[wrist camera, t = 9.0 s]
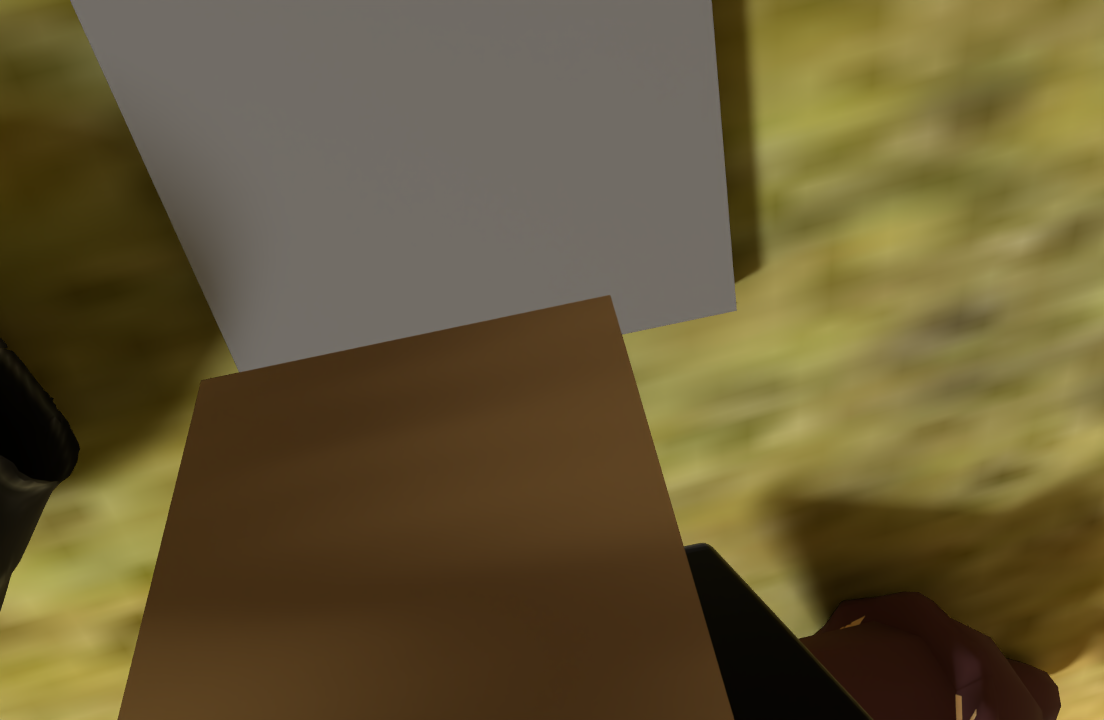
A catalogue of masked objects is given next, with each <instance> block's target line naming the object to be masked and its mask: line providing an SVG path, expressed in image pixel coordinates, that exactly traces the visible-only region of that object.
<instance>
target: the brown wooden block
mask: <svg viewBox="0 0 1104 720" xmlns="http://www.w3.org/2000/svg"><path fill="white" fill-rule="evenodd" d="M118 720H734V717H733V714H732V710H731V707H730V703H729V700H728V697H727V693H726V690H725V686H724V683H723V679H722V676H721V673H720V669H719V666H718V662H717V659H716V655H715V652H714V649H713V645H712V642H711V638H710V635H709V631H708V628H707V625H706V621H705V618H704V614H703V611H702V607H701V604H700V601H699V597H698V594H697V590H696V587H695V583H694V580H693V577H692V573H691V570H690V566H689V563H688V559H687V556H686V553H685V549H684V546H683V542H682V539H681V535H680V532H679V529H678V525H677V522H676V518H675V515H674V511H673V508H672V505H671V501H670V498H669V494H668V491H667V487H666V484H665V481H664V477H663V474H662V470H661V467H660V463H659V460H658V457H657V453H656V450H655V446H654V443H653V440H652V436H651V433H650V429H649V426H648V422H647V419H646V416H645V412H644V409H643V405H642V402H641V398H640V395H639V391H638V388H637V385H636V381H635V378H634V374H633V371H632V367H631V364H630V361H629V357H628V354H627V350H626V347H625V343H624V340H623V337H622V333H621V330H620V326H619V323H618V319H617V316H616V313H615V309H614V306H613V302H612V299H611V296H610V295H607V296H602V297H597V298H592V299H587V300H583V301H578V302H573V303H568V304H564V305H559V306H554V307H549V308H544V309H540V310H535V311H530V312H525V313H521V314H516V315H511V316H506V317H501V318H497V319H492V320H487V321H482V322H478V323H473V324H468V325H463V326H458V327H454V328H449V329H444V330H439V331H435V332H430V333H425V334H420V335H415V336H411V337H406V338H401V339H396V340H392V341H387V342H382V343H377V344H372V345H368V346H363V347H358V348H353V349H349V350H344V351H339V352H334V353H329V354H325V355H320V356H315V357H310V358H306V359H301V360H296V361H291V362H286V363H282V364H277V365H272V366H267V367H263V368H258V369H253V370H248V371H243V372H239V373H234V374H229V375H224V376H219V377H215V378H210V379H205V380H201V383H200V387H199V391H198V395H197V399H196V403H195V408H194V412H193V416H192V420H191V424H190V428H189V432H188V436H187V440H186V444H185V448H184V452H183V456H182V460H181V464H180V468H179V472H178V477H177V481H176V485H175V489H174V493H173V497H172V501H171V505H170V509H169V513H168V517H167V521H166V525H165V529H164V533H163V537H162V541H161V546H160V550H159V554H158V558H157V562H156V566H155V570H154V574H153V578H152V582H151V586H150V590H149V594H148V598H147V602H146V606H145V611H144V615H143V619H142V623H141V627H140V631H139V635H138V639H137V643H136V647H135V651H134V655H133V659H132V663H131V667H130V671H129V675H128V680H127V684H126V688H125V692H124V696H123V700H122V704H121V708H120V712H119V716H118Z"/></svg>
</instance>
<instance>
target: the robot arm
mask: <svg viewBox="0 0 1104 720" xmlns="http://www.w3.org/2000/svg"><path fill="white" fill-rule="evenodd" d="M684 549H685V553H686V556H687V559H688V563H689V566H690V570H691V573H692V577H693V580H694V583H695V587H696V590H697V594H698V597H699V601H700V604H701V607H702V611H703V614H704V618H705V621H706V625H707V628H708V631H709V635H710V638H711V642H712V645H713V649H714V652H715V655H716V659H717V662H718V666H719V669H720V673H721V676H722V679H723V683H724V686H725V690H726V693H727V697H728V700H729V703H730V707H731V710H732V714H733V717H734V720H873V719H872V718H871V717H870V715H869V714H868V713H867V712H866V711H865V710H864V709H863V708H862V707H861V706H860V705H859V704H858V703H857V702H856V700H855V699H854V698H853V697H852V696H851V695H850V694H849V693H848V692H847V691H846V690H845V689H844V688H843V686H842V685H841V684H840V683H839V682H838V681H837V680H836V679H835V678H834V677H833V676H832V675H831V674H830V673H829V671H828V670H827V669H826V668H825V667H824V666H823V665H822V664H821V663H820V662H819V661H818V660H817V659H816V657H815V656H814V655H813V654H812V653H811V652H810V651H809V650H808V649H807V648H806V647H805V646H804V645H803V644H802V642H801V641H800V640H799V639H798V638H797V637H796V636H795V635H794V634H793V633H792V632H791V631H790V630H789V628H788V627H787V626H786V625H785V624H784V623H783V622H782V621H781V620H780V619H779V618H778V617H777V616H776V615H775V613H774V612H773V611H772V610H771V609H770V608H769V607H768V606H767V605H766V604H765V603H764V602H763V601H762V600H761V598H760V597H759V596H758V595H757V594H756V593H755V592H754V591H753V590H752V589H751V588H750V587H749V586H748V584H747V583H746V582H745V581H744V580H743V579H742V578H741V577H740V576H739V575H738V574H737V573H736V572H735V571H734V569H733V568H732V567H731V566H730V565H729V564H728V563H727V562H726V561H725V560H724V559H723V558H722V557H721V555H720V554H719V553H718V552H717V551H716V550H715V549H714V548H713V547H711V546H710V545H709V544H706V543H698V544H693V545H688V546H684Z"/></svg>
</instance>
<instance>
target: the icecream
mask: <svg viewBox="0 0 1104 720" xmlns="http://www.w3.org/2000/svg"><path fill="white" fill-rule="evenodd" d="M799 640H800V641H801V642H802V644H803V645H804V646H805V647H806V648H807V649H808V650H809V651H810V652H811V653H812V654H813V655H814V656H815V657H816V659H817V660H818V661H819V662H820V663H821V664H822V665H823V666H824V667H825V668H826V669H827V670H828V671H829V673H830V674H831V675H832V676H833V677H834V678H835V679H836V680H837V681H838V682H839V683H840V684H841V685H842V686H843V688H844V689H845V690H846V691H847V692H848V693H849V694H850V695H851V696H852V697H853V698H854V699H855V700H856V702H857V703H858V704H859V705H860V706H861V707H862V708H863V709H864V710H865V711H866V712H867V713H868V714H869V715H870V717H871V718H872V719H873V720H1056V719H1057V716H1058V713H1059V710H1060V708H1061V703H1060V697H1059V691H1058V686H1057V685H1056V684H1055V683H1054V681H1053V680H1052V679H1051V678H1050V676H1049V675H1048V674H1047V672H1044V671H1042V670H1040V669H1037V668H1035V667H1032V666H1030V665H1028V664H1024V663H1021V662H1018V661H1014V660H1011V659H1006V658H1005V657H1004V655H1003V654H1002V653H1001V651H1000V650H999V648H998V647H997V646H996V644H995V643H994V642H993V640H992V639H991V638H990V637H988V636H986V635H984V634H982V633H980V632H978V631H976V630H974V629H972V628H970V627H968V626H966V625H964V624H962V623H960V622H958V621H955V620H953V619H951V618H950V617H949V616H948V615H947V614H946V613H945V612H944V611H943V610H942V609H941V608H940V607H939V606H938V605H937V604H936V603H935V602H934V601H932V600H930V599H929V598H927V597H926V596H924V595H922V594H921V593H919V592H900V593H895V594H890V595H884V596H879V597H872V598H863V599H854V600H845V601H842V602H841V603H840V605H839V606H838V607H837V609H836V610H835V612H834V613H833V614H832V616H831V617H830V618H829V620H828V621H827V622H826V624H825V625H824V626H823V627H822V628H821V629H820V630H819V631H818V632H817V633H816V634H815V635H812V636H808V637H804V638H800V639H799Z"/></svg>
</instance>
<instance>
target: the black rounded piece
mask: <svg viewBox="0 0 1104 720" xmlns="http://www.w3.org/2000/svg"><path fill="white" fill-rule="evenodd" d="M3 348H8V347H7V344H6V343H5V342H4V341H3V340H2V339H1V338H0V610H1V607H2V604H3V601H4V598H5V595H6V591H7V588H8V584H9V581H10V577H11V574H12V572H13V571H14V569H15V568H16V566H17V565H18V563H19V562H20V560H21V558H22V556H23V554H24V552H25V549H26V547H27V545H28V543H29V541H30V539H31V536H32V534H33V532H34V530H35V527H36V525H37V523H38V520H39V518H40V516H41V514H42V512H43V509H44V507H45V505H46V503H47V501H48V499H49V497H50V495H51V493H52V491H53V490H54V489H55V488H56V487H57V485H58V484H59V483H61V482H62V481H63V480H65V479H66V478H67V477H69V476H70V474H71V473H72V471H73V469H74V467H75V465H76V463H77V460H78V454H79V450H80V447H79V444H78V442H77V439H76V437H75V435H74V433H73V431H72V430H71V428H70V425H69V423H68V421H67V420H66V419H65V418H64V416H63V415H62V413H61V412H60V411H59V410H58V409H57V408H56V405H55V404H54V403H53V399H54V398H50V397H49V394H48V393H47V392H46V391H45V390H43V388H42V387H41V386H40V384H39V383H38V382H37V381H36V379H35V378H34V377H33V375H32V374H31V373H30V372H29V370H28V369H27V367H26V366H25V365H24V363H23V362H22V361H21V360H20V359H19V357H18V356H17V355H16V354H15V353H14V352H13V351H11V350H7V349H3Z"/></svg>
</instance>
